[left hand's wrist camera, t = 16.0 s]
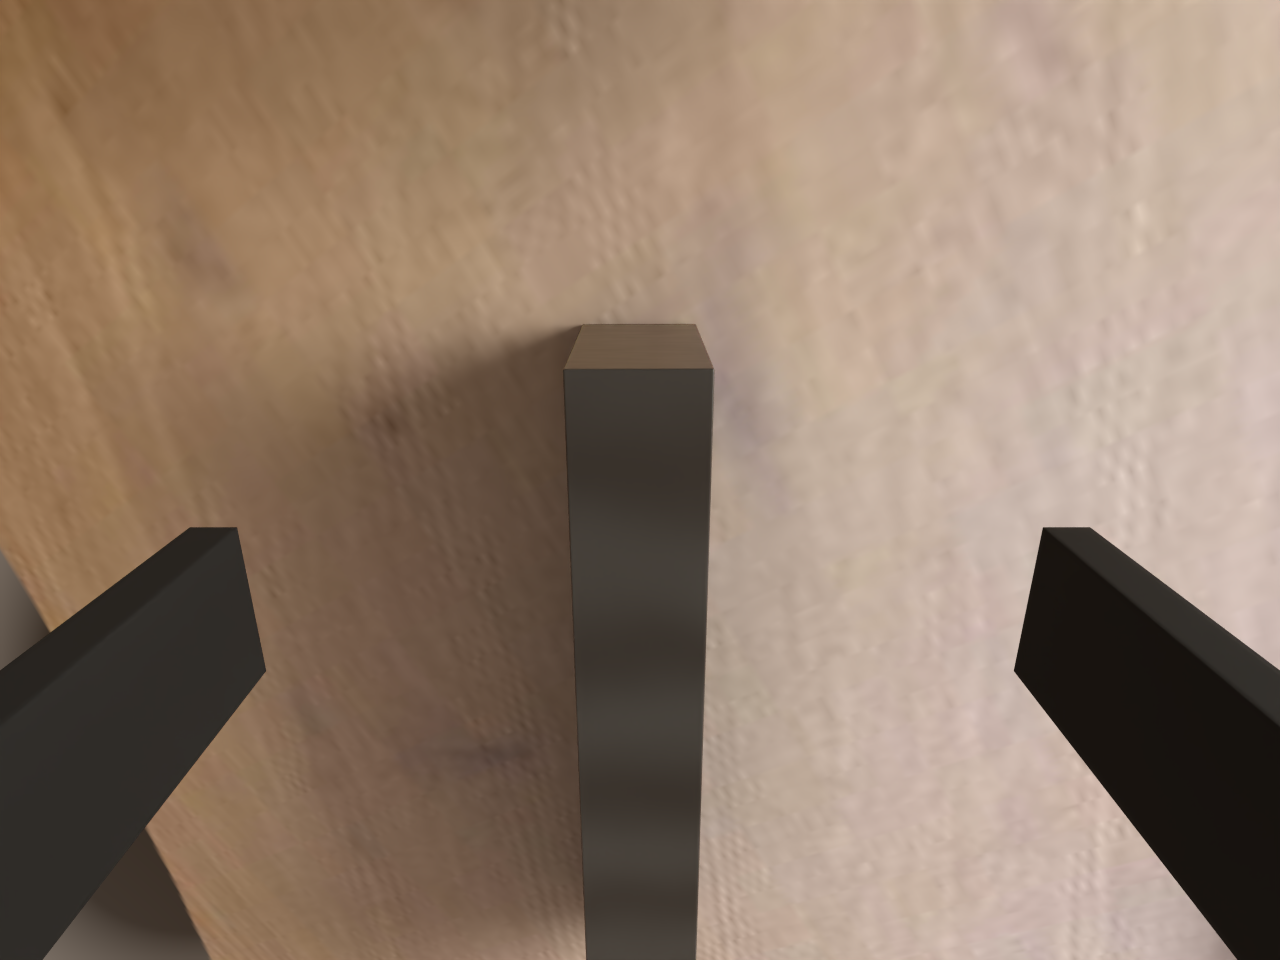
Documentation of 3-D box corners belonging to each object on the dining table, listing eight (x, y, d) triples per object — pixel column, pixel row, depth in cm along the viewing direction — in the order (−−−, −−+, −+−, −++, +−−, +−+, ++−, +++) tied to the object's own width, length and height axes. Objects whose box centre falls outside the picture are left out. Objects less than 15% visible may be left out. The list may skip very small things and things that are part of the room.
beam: (582, 324, 34) (562, 369, 25) (696, 323, 34) (714, 369, 25) (599, 899, 46) (589, 1060, 37) (683, 899, 46) (692, 1060, 37)
